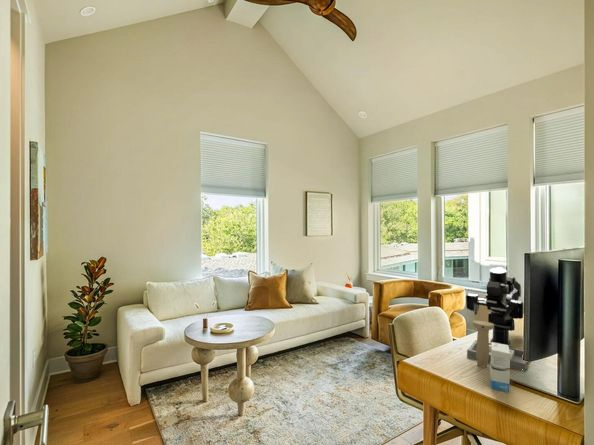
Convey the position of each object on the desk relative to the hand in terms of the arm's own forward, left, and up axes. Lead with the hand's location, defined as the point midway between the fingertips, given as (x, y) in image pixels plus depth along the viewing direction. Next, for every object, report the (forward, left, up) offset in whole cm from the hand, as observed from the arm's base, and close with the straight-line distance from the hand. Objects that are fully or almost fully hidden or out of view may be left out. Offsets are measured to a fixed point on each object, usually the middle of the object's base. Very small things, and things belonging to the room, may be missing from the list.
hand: (489, 316), depth 121 cm
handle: (+6, -1, -17) cm, 18 cm away
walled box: (-6, +2, -16) cm, 18 cm away
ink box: (+18, +6, -17) cm, 25 cm away
